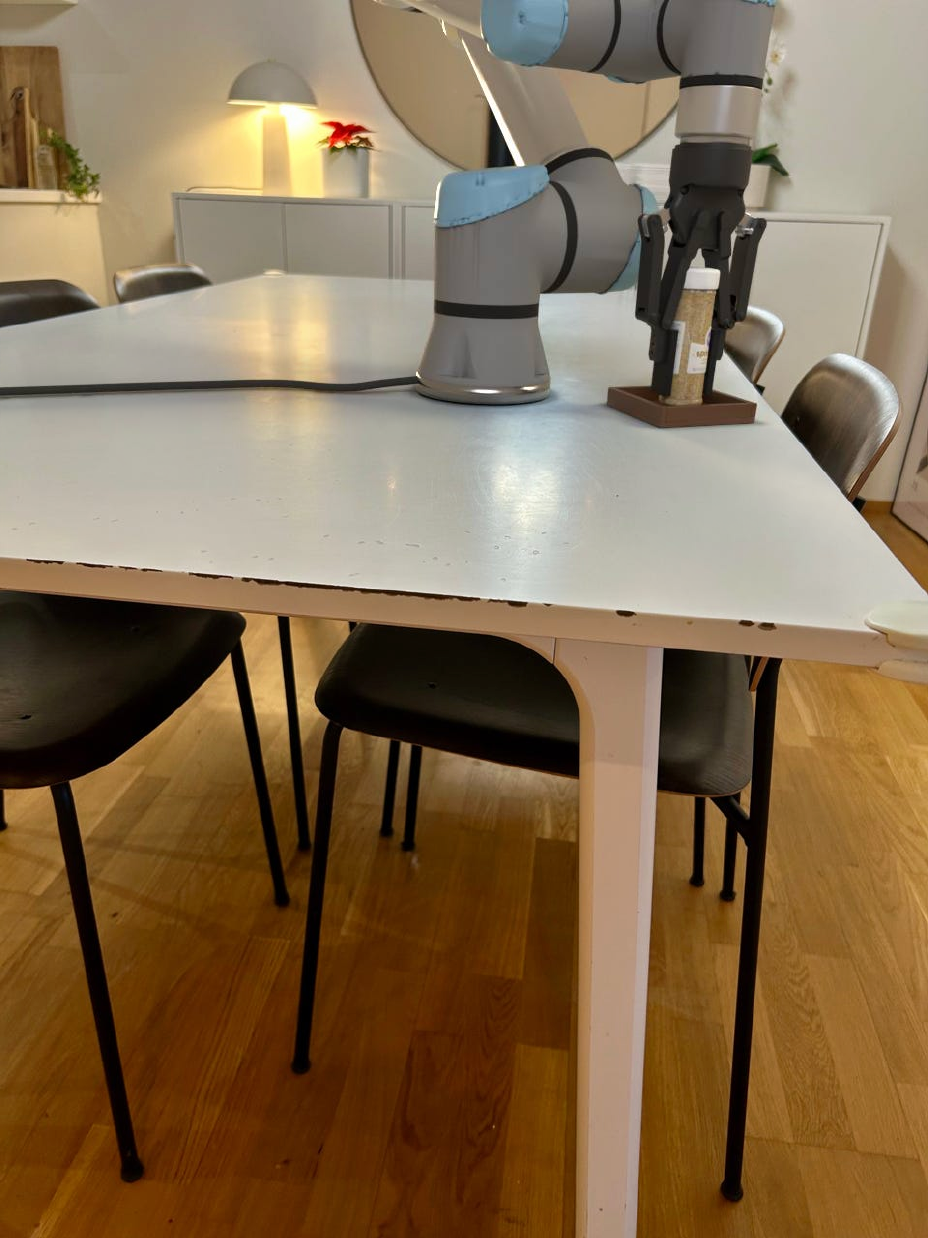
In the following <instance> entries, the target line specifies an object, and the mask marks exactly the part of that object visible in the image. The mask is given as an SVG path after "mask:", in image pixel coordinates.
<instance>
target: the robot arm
mask: <svg viewBox="0 0 928 1238" xmlns="http://www.w3.org/2000/svg"><path fill="white" fill-rule="evenodd" d="M373 1H374V2H376V3H378V4H380V5H382V6H385V7H388V8H392V9H394V10H399V11H403V12H410V13H416V14H422V15H427V16H428V15H430V16H431V17H434V18H436V19H438V21H439V24H440V25H441V28H442V30H443V32H444V34H445V37H446V39H447V41H448V42H449V43H450V44H451V45H452V46H453V47H454V48H456V49H458V50H460V51H462V52H466V55H467V57H468V58H469V59H468V60H469V61H470V63H471V66H472V67H473V70H474V72H475V75H476V77H477V80H478V81H479V83H480V86H481V88H482V90H483V92H484V95H485V97H486V99H487V102H488V103H489V107H490V109H491V111H492V113H493V116H494V118H495V121H496V122H497V125H498V127H499V129H500V131H501V133H502V136H503V138H504V141H505V143H506V145H507V147H508V149H509V152H510V154H511V156H512V159H513V161H514V163H515V165H510V166H502V167H501V166H500V167H486V168H478V169H477V168H476V169H467V170H459V171H455V172H451V173H448V174H445V176H443V177H442V178H441V179H440V181H439V183H438V185H437V189H436V197H435V198H436V199H435V207H434V216H433V225H434V261H433V262H434V267H433V268H434V269H433V270H434V271H433V272H434V274H433V275H434V276H433V319H432V324H431V326H430V331H429V334H428V337H427V340H426V342H425V346H424V348H423V352H422V355H421V358H420V361H419V364H418V367H417V371H416V375H413V376H402V377H393V378H385V379H377V380H371V381H363V382H356V383H329V382H317V381H306V380H294V379H229V380H228V379H225V380H223V379H222V380H221V379H220V380H188V381H186V380H185V381H183V380H182V381H157V382H156V381H150V382H148V381H147V382H119V383H91V384H89V383H88V384H61V385H59V384H58V385H57V384H56V385H29V386H27V385H26V386H25V385H24V386H0V397H8V396H11V397H13V396H39V395H67V394H68V395H69V394H94V393H97V394H98V393H122V392H123V393H124V392H151V391H155V392H156V391H183V390H185V391H186V390H216V389H217V390H221V389H247V388H248V389H249V388H251V389H252V388H273V389H274V388H275V389H278V388H280V389H281V388H283V389H296V390H297V389H299V390H307V391H319V392H335V393H336V392H337V393H339V392H340V393H346V392H347V393H348V392H350V393H351V392H361V391H369V390H375V389H383V388H393V387H400V386H409V385H411V386H412V385H415V386H416V388H415V389H416V391H417V392H418V394H421V395H423V396H426V397H428V398H432V399H435V400H436V399H437V400H442V401H448V402H455V403H463V404H476V405H477V404H478V405H513V404H525V403H526V404H527V403H533V402H537V401H541V400H544V399H546V398H548V397H549V396H550V393H551V380H552V379H551V373H550V369H549V365H548V361H547V356H546V352H545V349H544V343H543V340H542V336H541V332H540V327H539V314H540V301H541V295H556V294H558V295H559V294H597V295H600V296H602V295H606V294H608V293H615V292H624V291H627V290H629V289H631V288H633V287H634V286H635V285H636V284H637V286H636V297H635V310H634V317H635V319H636V320H637V321H640V322H642V323H645V324H646V325H647V326H648V327H650V338H649V344H648V345H649V347H648V359H649V361H653V366H652V375H651V384H650V386H651V391H650V392H653V393H656V394H659V395H662V396H670V394H671V386H672V378H673V370H674V362H675V354H676V346H677V338H678V330H674V329H670V328H671V326H672V324H673V321H674V317H675V314H676V311H677V308H678V304H679V301H680V298H681V294H682V291H683V288H684V285H685V281H686V274H687V271H688V270H689V268H690V267H691V265H692V261H694V259H695V258H696V257H697V255H698V252H699V250H700V254H701V257H702V258H703V260H704V261H703V262H704V268H713V269H717V270H719V271H720V279H719V286H718V289H717V290H716V295H715V301H714V308H713V316H712V322H711V334H710V341H709V349H708V356H707V364H706V371H705V373H704V382H703V390H702V394H705V395H709V394H712V389H713V390H714V381H715V376H716V375H715V374H716V367H717V362H718V361H721V360H722V358H723V356H724V351H725V350H724V349H725V343H726V337H727V332H728V331H730V330H733V328H735V325H736V323H742V322H744V321H745V320H746V318H747V313H748V307H749V303H750V295H751V290H752V284H753V279H754V272H755V267H756V261H757V255H758V248H759V244H760V241H761V240H762V238H763V235H764V233H765V231H766V229H767V226H768V221H767V219H766V218H765V217H755V216H754V215H752V214H750V213H749V212H747V211H746V209H747V208H746V204H745V200H744V199H745V198H744V195H745V191H746V189H747V187H748V186H749V183H750V177H751V170H752V164H753V157H754V150H753V147H752V146H751V145H749V141H751V140H754V139H755V138H756V137H757V132H758V126H759V125H758V124H759V116H760V110H761V103H762V95H763V85H764V77H765V69H766V65H767V63H766V62H767V58H768V57H767V56H768V51H769V43H770V38H771V31H772V28H773V21H774V15H775V10H776V6H777V3H778V0H373ZM556 69H560V70H569V71H578V72H582V73H587V74H595V75H602V76H604V77H605V78H607V80H608V81H610V82H613V83H615V84H634V85H642V84H643V85H644V84H646V83H647V82H651V81H658V80H663V79H670V78H676V77H680V79H679V84H678V85H679V86H678V90H679V91H678V100H677V109H676V118H675V127H674V133H673V135H674V136H675V138H676V139H678V140H679V144H675V145H674V148H671V158H670V165H669V173H668V174H669V175H668V186H669V194H668V196H667V199H666V201H665V203H664V204H663V208H661V209H660V207H659V204H658V201H657V198H656V197H655V195H654V194H653V192H652V191H651V190H650V189H649V188H648V187H646V186H644V185H641V184H639V183H635V182H632V183H629V184H627V183H626V182H625V181H624V180H623V177H622V175H621V173H620V171H619V169H618V167H617V165H616V164H615V161H614V158H613V157H612V156H611V154H610V152H609V151H607V150H606V149H604V148H603V147H600V146H596V145H591V143H590V141H589V138H588V136H587V134H586V132H585V129H584V128H583V126H582V124H581V121H580V119H579V117H578V114H577V113H576V110H575V109H574V106H573V105H572V102H571V100H570V97H569V95H568V93H567V92H566V89H565V87H564V84H563V83H562V81H561V79H560V76H559V74H558V73H557V70H556ZM668 227H669V228H668ZM668 229H669V230H670V231H671V238H670V241H669V244H668V248H667V259H666V263H665V267H664V258H665V247H666V238H665V234H666V233H667V232H668ZM733 233H734V234H736V236H735V239H734V241H733V246H732V234H733ZM730 258H731V259H730ZM663 268H664V271H663Z"/></svg>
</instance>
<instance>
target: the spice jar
mask: <svg viewBox="0 0 928 1238" xmlns="http://www.w3.org/2000/svg"><path fill="white" fill-rule="evenodd" d="M719 279H720V271H719V270H717V269H713V268H705V267H701V266H690V268H689V270H688V271H687V274H686V281H685V285H684V288H683V291H682V294H681V298H680V301H679V304H678V308H677V311H676V314H675V317H674V321H673V324H672V326H671V328H670V329H674V330H678V338H677V346H676V354H675V362H674V370H673V378H672V386H671V394H670V396H662V395H660V396H659V401H660V402H661V403H663V404H666V405H670V406H684V405H700V404H701V403H702V390H703V382H704V373H705V371H706V364H707V356H708V349H709V341H710V334H711V322H712V316H713V308H714V301H715V295H716V290H717V289H718V286H719Z"/></svg>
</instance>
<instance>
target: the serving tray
mask: <svg viewBox="0 0 928 1238" xmlns="http://www.w3.org/2000/svg"><path fill="white" fill-rule="evenodd" d="M650 391H651V385H629V386H628V385H627V386H608V387H607V396H606V407H610V408H612V409H614V410H617V411H619V412H622V413H623V414H625V415H628V416H631V417H633V418H636V419H638V420H641V421H643V422H646V423H647V424H651V425H652V426H655V427H657V428H660V429H662V428H663V429H664V428H683V427H700V426H702V427H705V426H717V425H718V426H719V425H720V426H723V425H740V424H754V423H755V420H756V419H755V418H756V412H757V407H758V403H757V402H754V401H751V400H748V399H744V398H741V397H738V396H734V395H731V394H729V393H726V392H723V391H720V390H716V389H714V388H713V389H712V394H709V395H705V394H702V403H701V404H700V405H684V406H670V405H666V404H663V403H661V402H660V401H659V396H660V395H659V394H656V393H653V392H650Z"/></svg>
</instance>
